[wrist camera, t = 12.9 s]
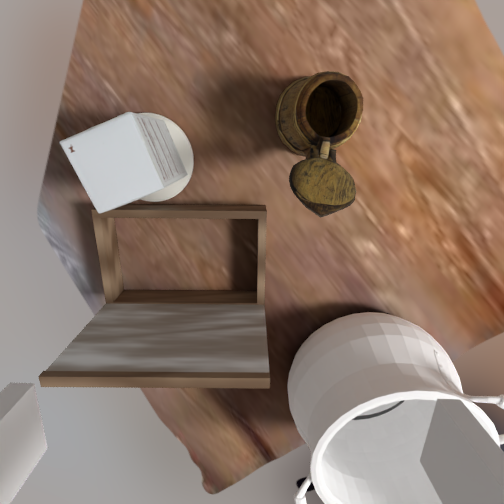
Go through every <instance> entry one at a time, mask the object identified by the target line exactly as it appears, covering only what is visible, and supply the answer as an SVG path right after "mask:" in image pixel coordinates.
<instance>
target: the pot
mask: <svg viewBox="0 0 504 504" xmlns="http://www.w3.org/2000/svg"><path fill="white" fill-rule="evenodd" d="M287 388H288V398H289V407H290V411H291V414H292V416H293V419H294V422H295V424H296V427H297V429H298V432H299V433H300V435H301V436H302V438H303V439H304V441H305V442H306V444H307V445H308V446H309V450H310V452H311V460H310V470H311V471H310V473H309V475H308V477H307V478H306V480H305V481H304V483H303V484H302V485H301V487H300V489H299V491H298V492H297V493H296V494H294V501H295V504H307V503H306V497H305V495H304V494H305V492H306V490H307V488H308V487H309V485H310V483H311V481H312V482H313V485H314V487H315V490H316V493H317V494H318V495H319V497H320V498H321V499H322V501H323V502H324V503H325V504H442V502H441V500H440V498H439V497H438V495H437V493H436V491H435V489H434V487H433V485H432V483H431V481H430V480H429V478H428V476H427V474H426V472H425V470H424V468H423V466H422V465H421V463H420V457H421V454H422V450H423V447H424V443H425V440H426V436H427V433H428V429H429V426H430V422H431V419H432V415H433V412H434V408H435V405H436V401H437V399H460V400H461V401H462V402H463V403H464V405H465V406H466V407H467V408H468V409H469V411H470V412H471V413H472V414H473V416H474V417H475V418H476V419H477V420H478V422H479V423H480V424H481V425H482V427H483V428H484V429H485V430H486V431H487V433H488V434H489V435H490V436H491V438H492V439H493V440H494V441H495V442H496V444H497V445H498V446H499V447H500V444H504V435H498V433H497V431H496V429H495V426H494V424H493V423H492V421H491V420H490V419H489V418H488V416H487V415H486V414H485V413H484V412H483V410H482V409H481V408H479V407H478V406H476V405H475V404H474V403H472V402H471V401H473V402H483V403H495V404H496V405H497V406H499V407H501V408H503V409H504V395H502V394H501V395H500V396H470V395H466V394H463V391H462V387H461V382H460V378H459V376H458V374H457V372H456V369H455V367H454V365H453V363H452V361H451V359H450V358H449V356H448V354H447V353H446V352H445V350H444V349H443V348H442V347H441V345H440V344H439V343H438V342H437V341H436V340H435V339H434V338H433V337H432V336H431V335H430V334H428V333H427V332H426V331H424V330H423V329H422V328H421V327H419V326H417V325H415V324H413V323H411V322H409V321H407V320H404V319H402V318H400V317H397V316H393V315H389V314H385V313H374V312H365V313H356V314H351V315H347V316H344V317H340V318H337V319H335V320H333V321H331V322H329V323H327V324H325V325H323V326H322V327H321V328H319V329H318V330H316V331H315V332H314V333H312V334H311V335H310V336H309V337H308V338H307V339H306V341H305V342H304V343H303V344H302V345H301V347H300V349H299V350H298V352H297V353H296V355H295V358H294V360H293V363H292V366H291V369H290V372H289V377H288V385H287Z"/></svg>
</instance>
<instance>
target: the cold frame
mask: <svg viewBox="0 0 504 504" xmlns="http://www.w3.org/2000/svg"><path fill="white" fill-rule="evenodd" d="M91 211H92V218H93V224H94V231H95V237H96V243H97V250H98V256H99V262H100V269H101V275H102V281H103V288H104V294H105V300H106V304H105V305H104V306H103V308H102V309H101V310H100V311H99V312H98V313H97V314H96V315H95V317H94V318H93V319H92V320H91V321H90V322H89V323H88V324H87V325H86V327H85V328H84V329H83V330H82V331H81V332H80V333H79V335H77V337H76V338H75V339H74V340H73V341H72V342H71V343H70V344H69V345H68V347H67V348H66V349H65V350H64V351H63V352H62V353H61V354H60V355H59V357H58V358H57V359H56V360H55V361H54V362H53V363H52V364H51V366H50V367H49V368H48V369H47V370H46V371H43V372H42V373H41V374H40V376H39V380H40V384H41V387H138V388H270V373H269V359H268V346H267V333H266V320H265V306H264V301H265V259H266V217H267V211H266V206H265V205H178V204H126V205H123V206H120V207H117V208H115V209H112V210H109V211H106V212H104V213H100V214H99V213H98V212H97V210H96V208H94V209H92V210H91ZM114 218H198V219H258V246H257V291H214V290H124V286H123V279H122V271H121V264H120V257H119V249H118V242H117V234H116V227H115V220H114Z"/></svg>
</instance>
